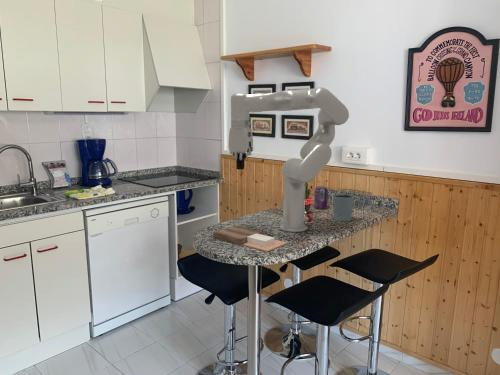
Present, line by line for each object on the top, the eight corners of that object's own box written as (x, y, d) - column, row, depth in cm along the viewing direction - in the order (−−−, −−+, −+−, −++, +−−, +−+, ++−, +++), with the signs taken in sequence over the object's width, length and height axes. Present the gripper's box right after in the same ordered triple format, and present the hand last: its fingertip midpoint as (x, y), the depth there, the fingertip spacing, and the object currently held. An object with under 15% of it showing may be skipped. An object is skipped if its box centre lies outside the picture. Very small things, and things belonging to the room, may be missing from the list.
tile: (256, 239, 160) (256, 233, 159) (274, 243, 154) (274, 237, 153) (247, 242, 155) (247, 236, 155) (265, 247, 149) (265, 241, 149)
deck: (235, 230, 173) (235, 225, 172) (262, 237, 163) (262, 231, 163) (213, 238, 162) (213, 232, 162) (240, 245, 153) (240, 239, 152)
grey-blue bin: (330, 220, 191) (331, 196, 189) (333, 216, 200) (334, 193, 198) (351, 222, 187) (353, 198, 185) (354, 218, 197) (355, 194, 195)
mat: (263, 237, 163) (263, 236, 163) (287, 243, 155) (287, 242, 155) (243, 245, 153) (243, 244, 153) (267, 251, 145) (267, 250, 145)
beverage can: (329, 208, 219) (330, 187, 217) (322, 210, 214) (323, 188, 212) (319, 206, 223) (319, 185, 221) (311, 208, 218) (312, 187, 216)
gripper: (260, 124, 158) (260, 169, 161) (232, 124, 167) (232, 167, 170) (248, 124, 152) (248, 171, 156) (220, 124, 162) (221, 168, 165)
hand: (240, 169), depth 163 cm, fingers closed
